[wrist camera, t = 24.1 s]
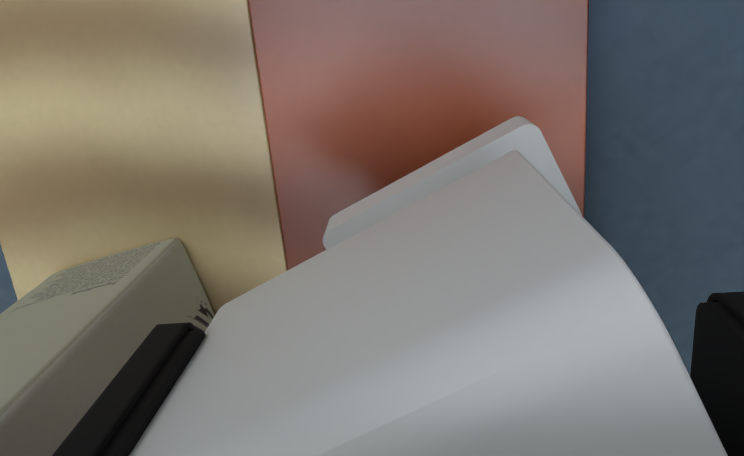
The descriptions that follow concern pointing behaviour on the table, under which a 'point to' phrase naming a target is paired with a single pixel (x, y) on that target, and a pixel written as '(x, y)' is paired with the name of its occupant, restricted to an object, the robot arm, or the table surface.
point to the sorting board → (256, 118)
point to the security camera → (444, 332)
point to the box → (86, 337)
